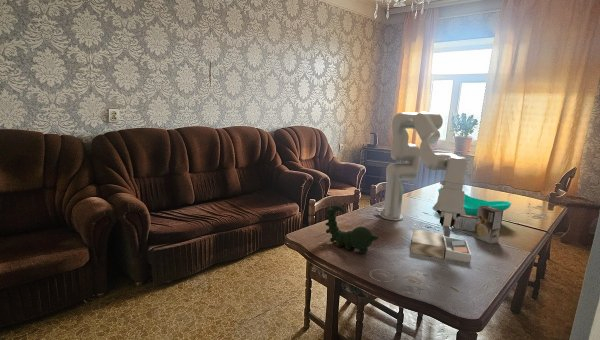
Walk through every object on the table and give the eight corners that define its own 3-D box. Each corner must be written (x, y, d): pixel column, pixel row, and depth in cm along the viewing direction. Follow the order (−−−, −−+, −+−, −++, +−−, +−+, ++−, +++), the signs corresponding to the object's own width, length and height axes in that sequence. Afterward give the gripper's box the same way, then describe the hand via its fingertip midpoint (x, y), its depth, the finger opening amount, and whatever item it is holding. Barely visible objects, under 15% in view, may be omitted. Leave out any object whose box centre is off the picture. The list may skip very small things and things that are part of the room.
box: (444, 258, 131) (445, 250, 130) (442, 244, 146) (443, 236, 145) (470, 263, 128) (471, 254, 127) (465, 248, 142) (466, 240, 142)
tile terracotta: (467, 251, 129) (468, 257, 129) (466, 247, 134) (466, 252, 134) (454, 251, 131) (455, 257, 131) (453, 247, 136) (453, 252, 136)
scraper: (442, 235, 130) (446, 216, 129) (440, 224, 145) (443, 206, 143) (450, 237, 129) (454, 217, 128) (447, 225, 144) (450, 207, 142)
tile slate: (465, 244, 136) (466, 250, 136) (463, 240, 140) (464, 245, 140) (452, 245, 138) (453, 250, 138) (451, 241, 142) (452, 246, 142)
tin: (480, 231, 164) (483, 216, 163) (481, 233, 161) (484, 218, 160) (449, 227, 169) (451, 212, 167) (449, 229, 166) (452, 213, 164)
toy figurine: (321, 246, 140) (372, 261, 124) (321, 205, 138) (373, 215, 122) (333, 240, 148) (383, 253, 132) (333, 201, 145) (383, 210, 129)
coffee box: (498, 242, 151) (504, 210, 148) (489, 244, 149) (495, 211, 146) (481, 235, 160) (486, 205, 156) (472, 236, 157) (477, 206, 154)
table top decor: (426, 211, 193) (428, 191, 191) (446, 204, 211) (449, 185, 208) (497, 232, 164) (502, 208, 161) (514, 222, 181) (518, 200, 179)
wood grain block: (410, 252, 136) (412, 241, 135) (411, 238, 150) (413, 229, 149) (443, 258, 131) (445, 247, 130) (441, 244, 146) (442, 234, 145)
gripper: (432, 184, 132) (426, 225, 136) (476, 190, 126) (468, 232, 130) (432, 180, 139) (426, 219, 143) (473, 186, 133) (465, 226, 137)
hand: (446, 225), depth 136 cm, fingers closed on scraper, 3 cm apart
